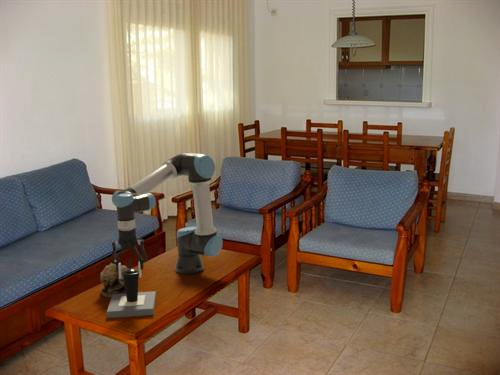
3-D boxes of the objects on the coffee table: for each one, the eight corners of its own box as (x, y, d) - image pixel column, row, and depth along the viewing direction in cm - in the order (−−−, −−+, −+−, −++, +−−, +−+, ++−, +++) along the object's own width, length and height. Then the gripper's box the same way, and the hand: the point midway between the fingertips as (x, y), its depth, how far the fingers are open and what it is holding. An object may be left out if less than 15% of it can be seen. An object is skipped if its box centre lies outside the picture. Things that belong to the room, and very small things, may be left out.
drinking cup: (120, 299, 252) (118, 257, 248) (135, 295, 256) (133, 254, 253) (128, 304, 246) (126, 261, 242) (143, 300, 251) (141, 258, 247)
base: (156, 297, 263) (155, 290, 262) (153, 314, 243) (152, 307, 242) (113, 299, 261) (112, 293, 260) (107, 318, 241) (106, 311, 240)
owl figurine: (139, 291, 270) (137, 258, 266) (127, 301, 259) (124, 267, 256) (107, 288, 276) (105, 255, 272) (94, 297, 265) (91, 263, 261)
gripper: (101, 232, 240) (105, 281, 244) (150, 229, 242) (153, 278, 246) (104, 227, 247) (107, 275, 251) (151, 225, 249) (154, 272, 254)
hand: (130, 277), depth 249 cm, fingers open, 8 cm apart
